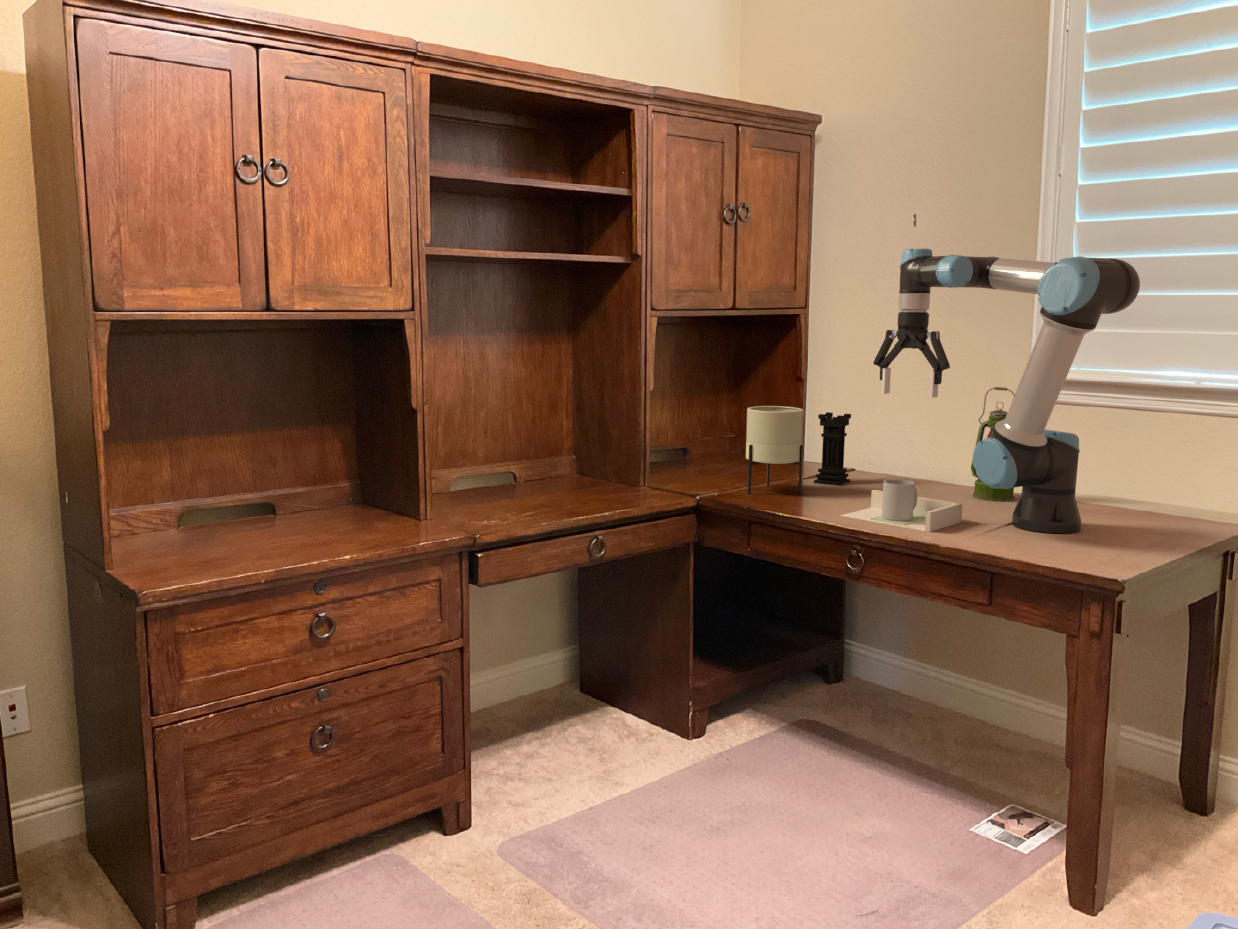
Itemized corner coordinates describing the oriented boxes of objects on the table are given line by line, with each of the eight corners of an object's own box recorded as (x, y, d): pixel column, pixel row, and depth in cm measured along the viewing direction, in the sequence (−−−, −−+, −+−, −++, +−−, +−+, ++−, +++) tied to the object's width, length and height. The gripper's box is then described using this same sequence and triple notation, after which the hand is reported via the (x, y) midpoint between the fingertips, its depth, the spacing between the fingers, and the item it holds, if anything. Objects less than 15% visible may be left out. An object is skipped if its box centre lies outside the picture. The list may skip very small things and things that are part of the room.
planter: (791, 498, 273) (794, 413, 270) (736, 492, 281) (738, 409, 277) (810, 489, 286) (813, 408, 283) (757, 484, 294) (759, 404, 290)
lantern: (1027, 498, 276) (1035, 387, 271) (1010, 504, 268) (1018, 390, 264) (977, 491, 286) (984, 384, 281) (960, 496, 278) (967, 386, 273)
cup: (875, 517, 247) (877, 481, 246) (903, 512, 253) (905, 477, 251) (898, 523, 241) (900, 485, 240) (927, 518, 247) (929, 482, 245)
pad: (929, 518, 248) (929, 516, 248) (903, 525, 240) (903, 524, 240) (896, 512, 255) (896, 511, 254) (870, 519, 246) (870, 518, 246)
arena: (961, 524, 244) (962, 503, 243) (929, 533, 234) (930, 512, 233) (873, 508, 261) (874, 489, 260) (840, 517, 251) (840, 497, 250)
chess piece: (849, 481, 300) (853, 413, 296) (840, 485, 293) (843, 416, 290) (824, 478, 304) (826, 412, 301) (813, 482, 297) (816, 414, 294)
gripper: (967, 311, 251) (961, 398, 255) (878, 310, 269) (874, 390, 272) (952, 312, 246) (947, 399, 249) (862, 310, 263) (858, 392, 267)
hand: (909, 395), depth 261 cm, fingers open, 13 cm apart
